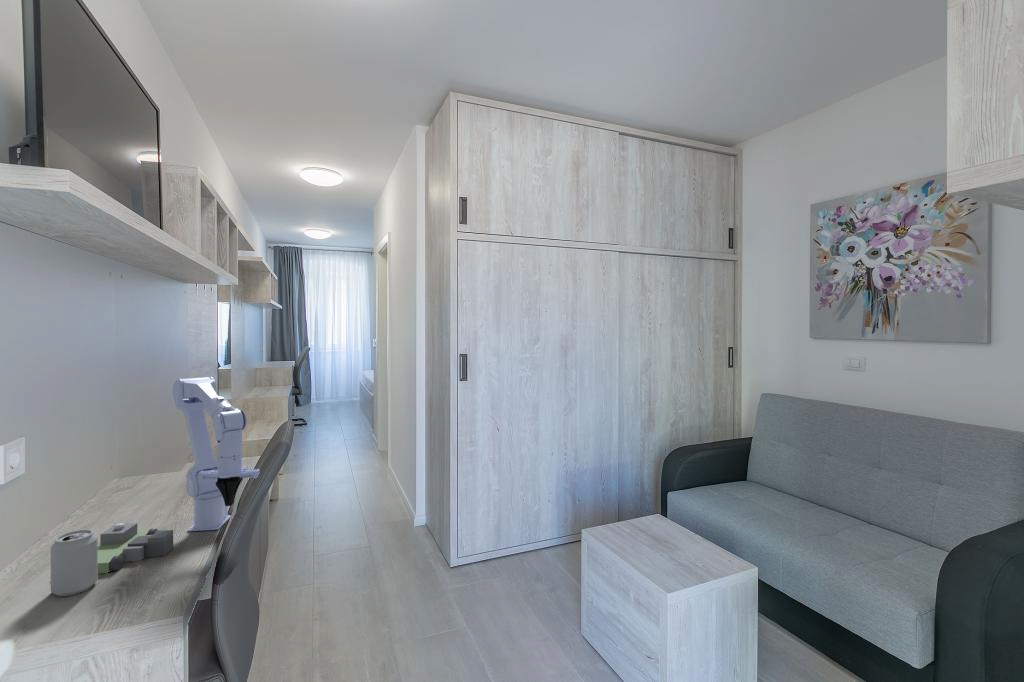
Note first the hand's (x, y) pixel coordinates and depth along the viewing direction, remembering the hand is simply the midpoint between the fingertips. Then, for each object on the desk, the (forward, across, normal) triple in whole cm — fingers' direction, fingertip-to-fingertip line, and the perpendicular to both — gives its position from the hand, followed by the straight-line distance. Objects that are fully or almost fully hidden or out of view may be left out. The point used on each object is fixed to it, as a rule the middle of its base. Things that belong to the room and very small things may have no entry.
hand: (229, 504), depth 126 cm
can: (+10, -23, -21) cm, 33 cm away
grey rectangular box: (+9, -16, -6) cm, 19 cm away
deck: (+9, -23, -6) cm, 26 cm away
